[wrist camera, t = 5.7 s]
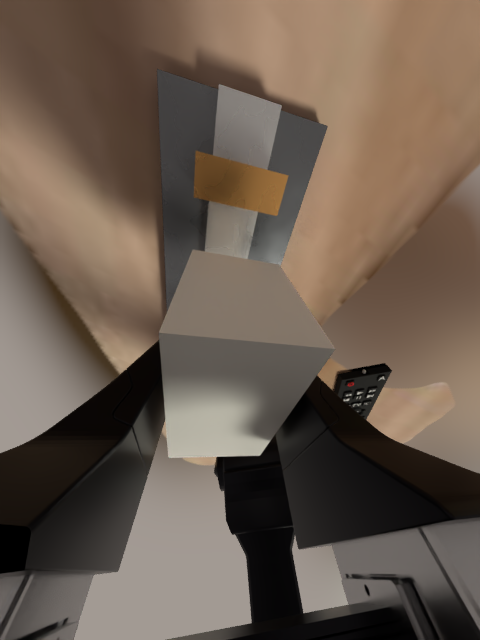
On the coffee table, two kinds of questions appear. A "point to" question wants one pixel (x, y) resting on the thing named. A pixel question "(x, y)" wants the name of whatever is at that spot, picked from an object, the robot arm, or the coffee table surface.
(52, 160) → the coffee table surface
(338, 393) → the remote control
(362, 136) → the coffee table surface
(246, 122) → the rail mount
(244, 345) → the plain light gray block
